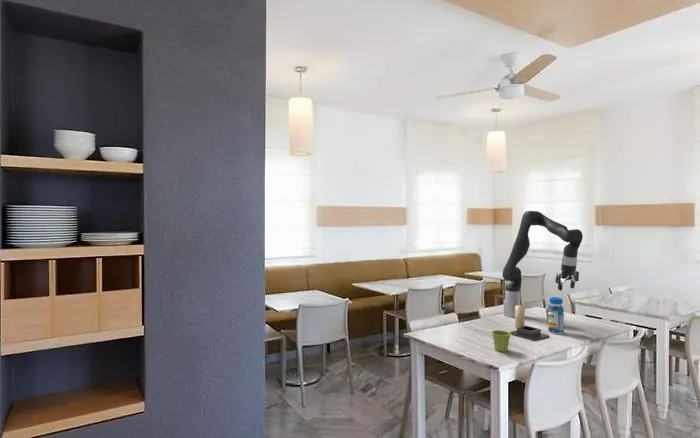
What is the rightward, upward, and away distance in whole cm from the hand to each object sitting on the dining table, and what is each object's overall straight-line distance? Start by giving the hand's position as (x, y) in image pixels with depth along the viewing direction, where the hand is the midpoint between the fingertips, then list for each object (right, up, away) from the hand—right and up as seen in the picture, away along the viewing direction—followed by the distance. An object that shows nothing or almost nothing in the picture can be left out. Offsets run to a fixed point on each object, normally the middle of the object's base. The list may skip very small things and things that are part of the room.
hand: (565, 289), depth 237 cm
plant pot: (-50, -26, -32) cm, 64 cm away
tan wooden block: (-23, -25, +10) cm, 35 cm away
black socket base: (-25, -25, -7) cm, 36 cm away
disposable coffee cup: (-1, -25, +13) cm, 29 cm away
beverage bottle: (-7, -25, -1) cm, 26 cm away
